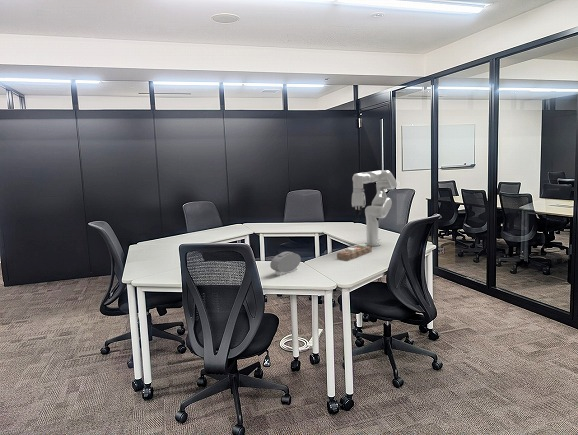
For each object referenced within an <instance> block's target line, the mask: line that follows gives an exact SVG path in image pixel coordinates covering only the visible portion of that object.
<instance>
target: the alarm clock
mask: <svg viewBox="0 0 578 435" xmlns="http://www.w3.org/2000/svg"><path fill="white" fill-rule="evenodd" d="M301 261H302V259H301V256H300V255H299V254H298V253H294V252H293V251H282V252H281V253H278V254H277V255H275V256H274V257H273V258H272V259H271V260H270V263H269V264H270V268H271V270H273V271H274V275H276V276H283V275H286V274H288V273H292V272H295V271H297V270H298V266H299V265H300V263H301Z"/></svg>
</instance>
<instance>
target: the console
mask: <svg viewBox="0 0 578 435" xmlns="http://www.w3.org/2000/svg"><path fill="white" fill-rule="evenodd" d="M355 247H357V248H359V247H358V245H356V246H354V247H352V248H355ZM372 247H373V246H367V247H365V248H362V249H360V250H356V251H354V252H347V251H346V249H345V250H342V251H339V252H337V253H336V258H337V260H345V261H351V260H354V259H356V258H359V257H362V256H365V255H368V254H370V253H371V252H372Z"/></svg>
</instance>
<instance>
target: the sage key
mask: <svg viewBox="0 0 578 435" xmlns="http://www.w3.org/2000/svg"><path fill="white" fill-rule="evenodd" d="M357 246H358V247H359V248H365V247H367V245H366V244H365V243H364V244H363V243H359V244H358V245H357Z"/></svg>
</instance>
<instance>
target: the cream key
mask: <svg viewBox="0 0 578 435" xmlns="http://www.w3.org/2000/svg"><path fill="white" fill-rule="evenodd" d="M345 250H346V251H347V252H354V251H356V248H353V247H348V248H346V249H345Z"/></svg>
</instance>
